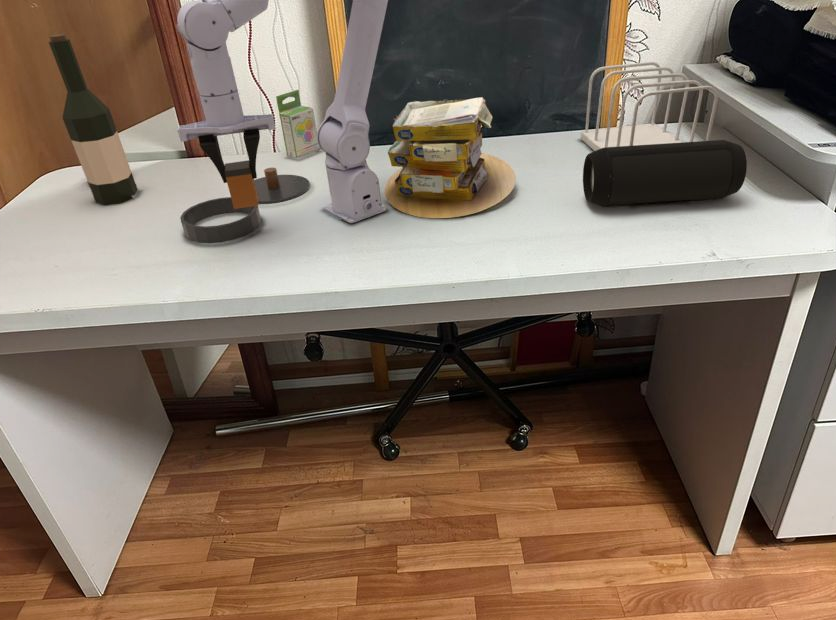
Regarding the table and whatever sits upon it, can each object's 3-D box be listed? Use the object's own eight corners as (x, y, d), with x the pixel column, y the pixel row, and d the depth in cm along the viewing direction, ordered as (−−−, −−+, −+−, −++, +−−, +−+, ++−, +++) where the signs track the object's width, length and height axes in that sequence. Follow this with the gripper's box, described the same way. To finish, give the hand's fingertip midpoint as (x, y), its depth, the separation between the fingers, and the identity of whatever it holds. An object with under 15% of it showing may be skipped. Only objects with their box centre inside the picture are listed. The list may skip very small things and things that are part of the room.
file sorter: (579, 139, 140) (586, 65, 131) (653, 132, 142) (664, 58, 133) (624, 178, 120) (635, 94, 111) (709, 169, 122) (726, 84, 113)
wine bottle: (123, 205, 123) (61, 39, 106) (86, 204, 125) (20, 40, 107) (146, 189, 130) (92, 30, 112) (111, 188, 131) (53, 31, 114)
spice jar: (258, 196, 106) (249, 160, 103) (258, 205, 103) (249, 167, 100) (234, 200, 106) (224, 163, 102) (234, 209, 103) (224, 171, 99)
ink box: (298, 160, 139) (287, 98, 132) (286, 158, 142) (274, 96, 134) (321, 151, 144) (311, 90, 136) (309, 149, 146) (298, 88, 138)
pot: (274, 228, 110) (270, 210, 108) (204, 253, 104) (198, 234, 102) (241, 208, 119) (237, 191, 117) (174, 230, 112) (169, 212, 110)
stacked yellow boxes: (480, 227, 106) (479, 128, 96) (360, 206, 116) (348, 114, 107) (534, 178, 123) (537, 89, 113) (425, 163, 133) (420, 80, 124)
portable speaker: (717, 186, 115) (729, 131, 109) (740, 207, 106) (755, 149, 101) (579, 195, 115) (584, 140, 109) (592, 217, 107) (598, 159, 101)
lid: (323, 191, 123) (320, 168, 121) (259, 213, 116) (253, 189, 114) (288, 174, 133) (284, 152, 130) (227, 193, 126) (221, 170, 123)
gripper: (166, 104, 90) (193, 193, 98) (267, 91, 92) (285, 180, 100) (170, 93, 95) (195, 178, 103) (266, 81, 98) (283, 166, 106)
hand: (240, 178), depth 102 cm, fingers closed on spice jar, 4 cm apart
